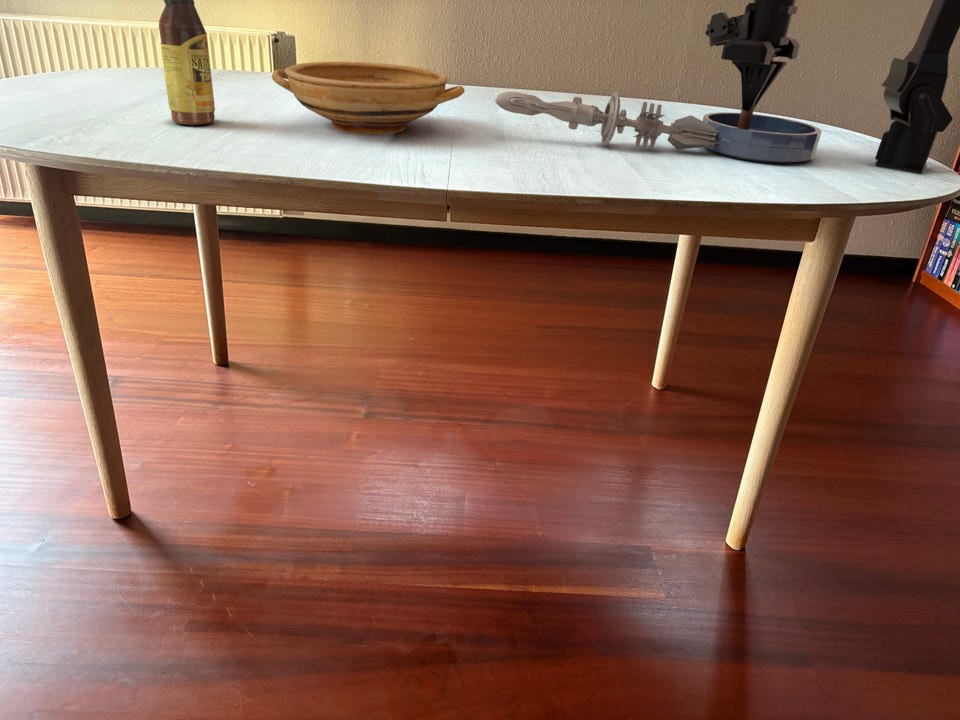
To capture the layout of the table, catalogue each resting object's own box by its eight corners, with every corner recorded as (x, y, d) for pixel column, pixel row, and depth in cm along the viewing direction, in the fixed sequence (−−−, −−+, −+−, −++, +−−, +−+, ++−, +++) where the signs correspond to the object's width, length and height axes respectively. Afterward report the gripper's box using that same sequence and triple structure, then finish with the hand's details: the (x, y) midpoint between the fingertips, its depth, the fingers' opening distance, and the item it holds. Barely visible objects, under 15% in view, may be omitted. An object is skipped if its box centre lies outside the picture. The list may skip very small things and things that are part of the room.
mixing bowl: (823, 154, 111) (832, 125, 109) (796, 172, 99) (805, 140, 96) (718, 135, 120) (724, 108, 118) (680, 149, 107) (687, 119, 105)
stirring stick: (755, 146, 110) (776, 62, 103) (747, 149, 107) (768, 63, 101) (730, 141, 112) (750, 58, 105) (722, 145, 109) (742, 60, 103)
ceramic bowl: (473, 121, 116) (476, 71, 112) (448, 152, 95) (451, 91, 91) (304, 106, 118) (301, 55, 114) (244, 132, 97) (237, 72, 93)
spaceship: (497, 79, 106) (501, 63, 98) (715, 118, 108) (735, 106, 100) (489, 131, 107) (492, 119, 99) (705, 169, 109) (725, 160, 101)
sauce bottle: (207, 128, 98) (187, -31, 88) (163, 125, 98) (139, -35, 88) (223, 119, 104) (206, -31, 94) (182, 116, 104) (160, -34, 94)
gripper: (740, -6, 109) (717, 97, 117) (698, -9, 96) (676, 107, 104) (813, -1, 104) (784, 107, 112) (779, -4, 91) (749, 119, 98)
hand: (747, 109), depth 106 cm, fingers closed on stirring stick, 2 cm apart
